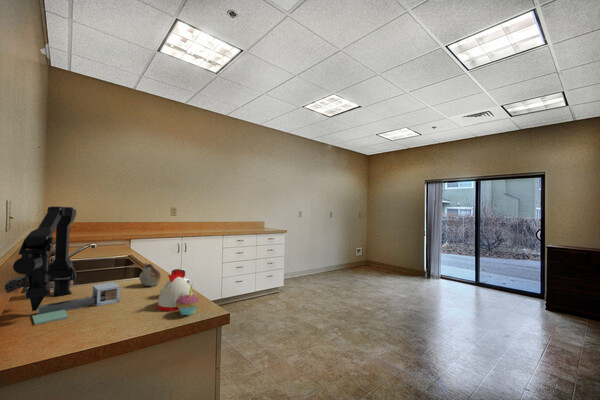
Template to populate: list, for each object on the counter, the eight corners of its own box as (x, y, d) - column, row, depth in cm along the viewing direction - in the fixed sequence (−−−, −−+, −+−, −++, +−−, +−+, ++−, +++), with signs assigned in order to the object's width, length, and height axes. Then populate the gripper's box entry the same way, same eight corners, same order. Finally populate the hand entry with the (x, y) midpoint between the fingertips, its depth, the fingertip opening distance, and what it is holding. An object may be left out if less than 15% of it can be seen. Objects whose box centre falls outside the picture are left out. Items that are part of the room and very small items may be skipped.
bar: (37, 314, 104) (38, 305, 104) (102, 301, 119) (102, 294, 119) (38, 316, 102) (39, 308, 102) (104, 303, 117) (104, 296, 117)
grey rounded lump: (134, 287, 141) (135, 263, 141) (147, 282, 150) (148, 259, 151) (152, 288, 139) (153, 264, 140) (164, 283, 149) (165, 261, 149)
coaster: (32, 317, 101) (32, 315, 101) (64, 311, 107) (64, 309, 107) (34, 325, 95) (34, 323, 95) (68, 317, 101) (68, 316, 101)
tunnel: (91, 300, 119) (92, 285, 119) (113, 296, 125) (114, 282, 125) (96, 306, 114) (97, 289, 114) (119, 301, 120) (120, 286, 120)
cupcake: (203, 311, 112) (204, 281, 112) (188, 319, 104) (189, 286, 104) (185, 308, 114) (187, 279, 115) (169, 315, 106) (171, 284, 107)
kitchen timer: (149, 307, 114) (151, 270, 114) (176, 298, 127) (177, 265, 127) (175, 313, 109) (177, 275, 109) (200, 302, 121) (201, 268, 122)
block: (101, 300, 120) (102, 289, 120) (114, 298, 123) (114, 287, 123) (105, 303, 117) (105, 291, 117) (117, 300, 120) (118, 289, 120)
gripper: (5, 266, 104) (2, 309, 103) (6, 276, 91) (2, 324, 91) (45, 263, 112) (42, 302, 111) (51, 271, 99) (48, 315, 99)
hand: (34, 310), depth 103 cm, fingers closed, pressing on bar
